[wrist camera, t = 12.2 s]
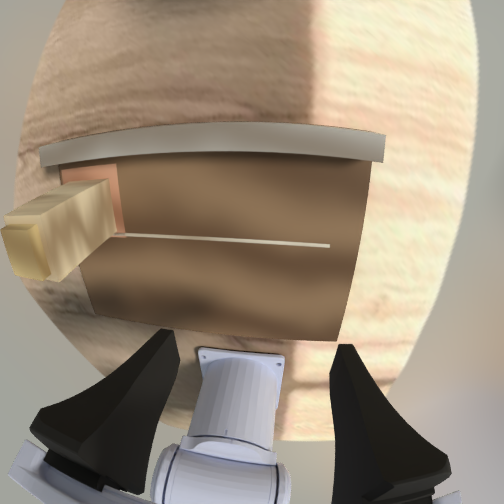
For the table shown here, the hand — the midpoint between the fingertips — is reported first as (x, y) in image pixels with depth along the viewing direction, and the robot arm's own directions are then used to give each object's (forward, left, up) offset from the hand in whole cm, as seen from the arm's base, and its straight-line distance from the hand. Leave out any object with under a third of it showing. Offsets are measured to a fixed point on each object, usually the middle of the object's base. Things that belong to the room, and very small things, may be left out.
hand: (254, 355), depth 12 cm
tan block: (+4, +13, -8) cm, 16 cm away
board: (+1, +5, -9) cm, 11 cm away
